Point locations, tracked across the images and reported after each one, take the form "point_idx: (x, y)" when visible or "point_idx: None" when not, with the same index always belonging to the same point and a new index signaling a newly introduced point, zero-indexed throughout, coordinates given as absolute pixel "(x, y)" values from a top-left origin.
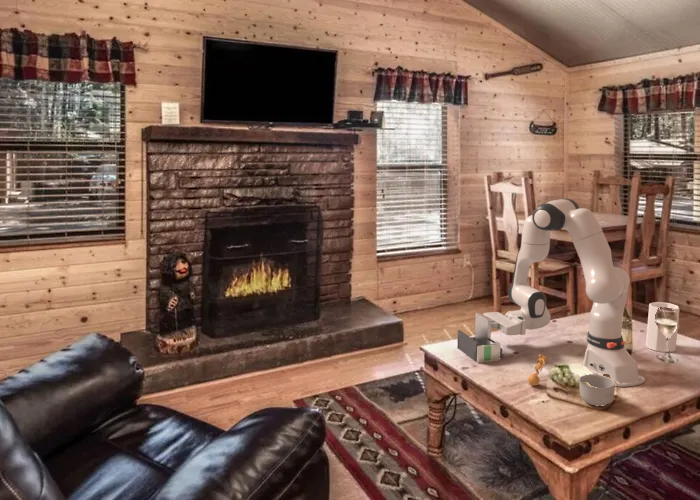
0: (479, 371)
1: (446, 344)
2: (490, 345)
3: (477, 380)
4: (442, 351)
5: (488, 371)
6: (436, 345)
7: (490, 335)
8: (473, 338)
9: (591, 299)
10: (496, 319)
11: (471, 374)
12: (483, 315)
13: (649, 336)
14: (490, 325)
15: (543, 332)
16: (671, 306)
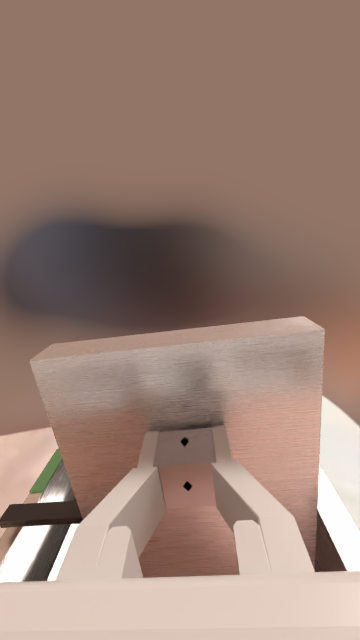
0: (40, 463)
1: (349, 446)
2: (32, 490)
3: (9, 434)
4: None
5: (7, 495)
6: (326, 412)
7: (78, 501)
8: (332, 538)
9: None
10: (158, 632)
11: (49, 434)
12: (190, 340)
13: None
14: (52, 416)
15: None
16: None
